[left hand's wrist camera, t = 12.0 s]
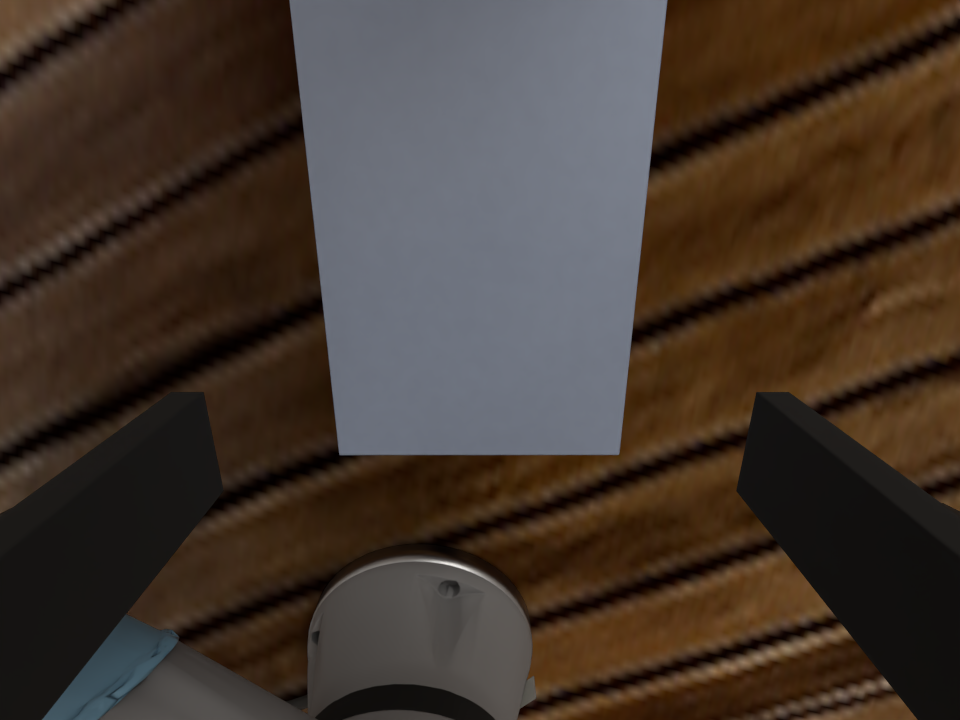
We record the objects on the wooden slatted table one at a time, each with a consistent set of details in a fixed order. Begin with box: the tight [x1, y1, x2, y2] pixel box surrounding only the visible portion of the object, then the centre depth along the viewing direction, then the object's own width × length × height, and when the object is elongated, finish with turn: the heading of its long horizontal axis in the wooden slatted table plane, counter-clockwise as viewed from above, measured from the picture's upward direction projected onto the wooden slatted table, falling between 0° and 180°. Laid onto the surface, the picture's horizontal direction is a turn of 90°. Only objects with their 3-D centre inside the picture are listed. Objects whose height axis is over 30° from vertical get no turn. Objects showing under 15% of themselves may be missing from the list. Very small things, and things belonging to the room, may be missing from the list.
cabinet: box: [290, 0, 667, 455], centre depth 22 cm, size 17×10×11 cm, turn 0°
